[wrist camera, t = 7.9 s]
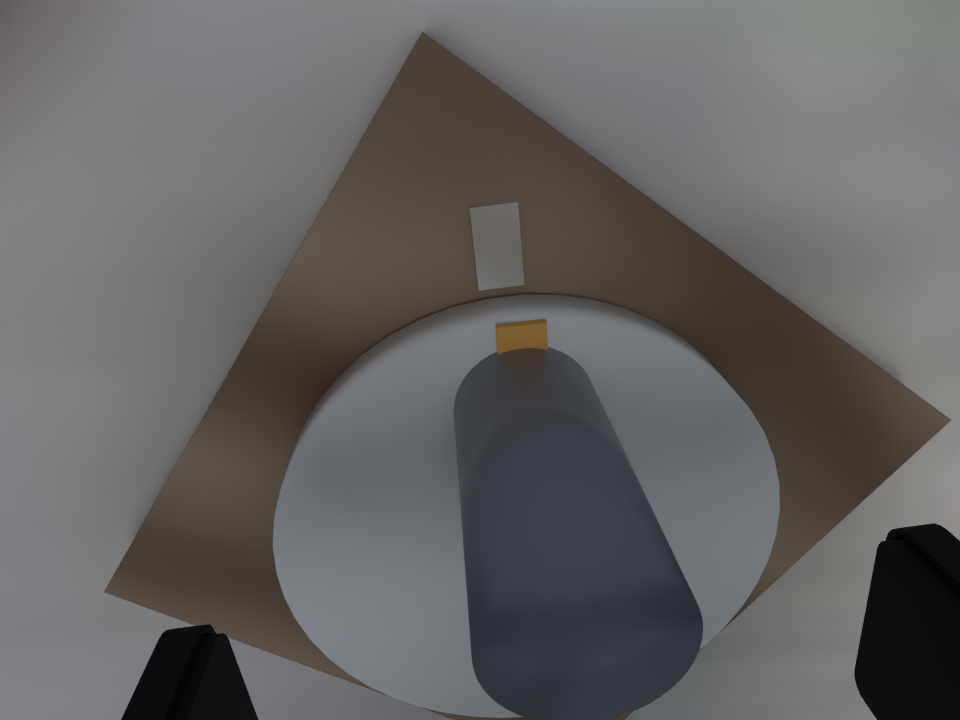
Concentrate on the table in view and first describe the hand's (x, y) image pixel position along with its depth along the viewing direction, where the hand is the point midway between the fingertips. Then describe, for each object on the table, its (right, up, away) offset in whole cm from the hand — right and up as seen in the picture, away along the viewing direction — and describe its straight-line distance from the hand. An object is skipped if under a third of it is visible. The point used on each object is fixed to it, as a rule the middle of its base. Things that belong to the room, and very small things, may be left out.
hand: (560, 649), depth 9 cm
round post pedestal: (0, 0, +8) cm, 8 cm away
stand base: (0, +1, +9) cm, 10 cm away
